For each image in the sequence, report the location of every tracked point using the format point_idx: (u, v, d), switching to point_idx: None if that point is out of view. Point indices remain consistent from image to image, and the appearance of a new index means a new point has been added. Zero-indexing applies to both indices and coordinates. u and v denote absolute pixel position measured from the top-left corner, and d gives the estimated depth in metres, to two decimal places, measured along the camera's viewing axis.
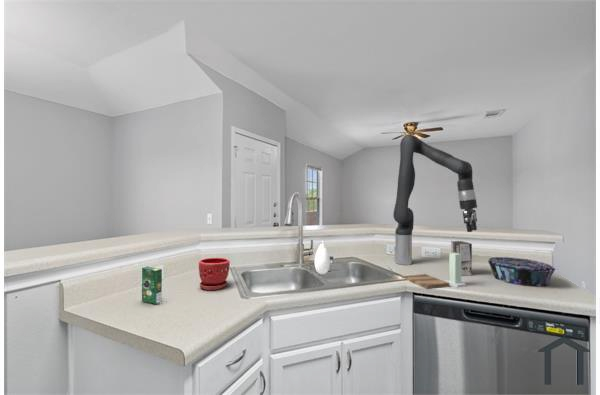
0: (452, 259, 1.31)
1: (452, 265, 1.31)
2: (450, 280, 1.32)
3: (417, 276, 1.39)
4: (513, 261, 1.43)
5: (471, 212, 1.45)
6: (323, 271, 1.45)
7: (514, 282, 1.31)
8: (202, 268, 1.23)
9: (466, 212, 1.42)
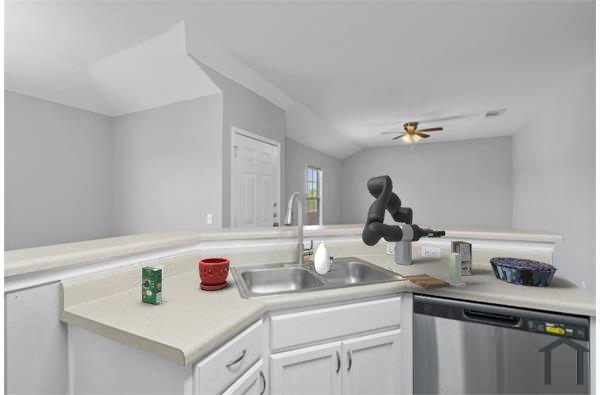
0: (452, 259, 1.31)
1: (452, 265, 1.31)
2: (450, 280, 1.32)
3: (417, 276, 1.39)
4: (514, 261, 1.43)
5: None
6: (323, 271, 1.45)
7: (516, 282, 1.31)
8: (202, 268, 1.23)
9: None
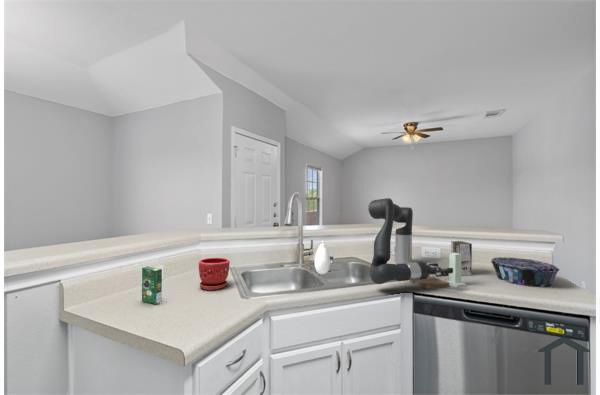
0: (452, 259, 1.31)
1: (452, 265, 1.31)
2: (450, 280, 1.32)
3: None
4: (516, 261, 1.43)
5: None
6: (323, 271, 1.45)
7: (518, 282, 1.31)
8: (202, 268, 1.23)
9: None
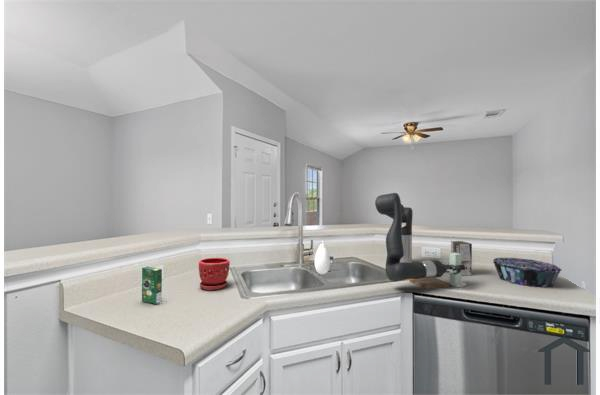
0: (452, 259, 1.31)
1: None
2: (450, 280, 1.32)
3: None
4: (518, 261, 1.42)
5: None
6: (323, 271, 1.45)
7: (520, 283, 1.30)
8: (202, 268, 1.23)
9: None
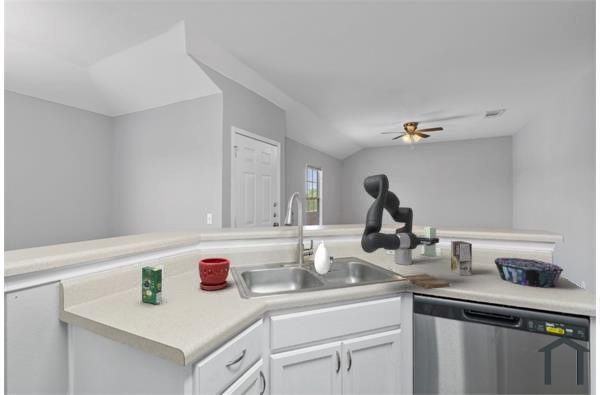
0: (427, 232, 1.33)
1: None
2: (425, 253, 1.35)
3: (417, 276, 1.39)
4: (519, 262, 1.42)
5: None
6: (323, 271, 1.45)
7: (522, 283, 1.30)
8: (202, 268, 1.23)
9: None
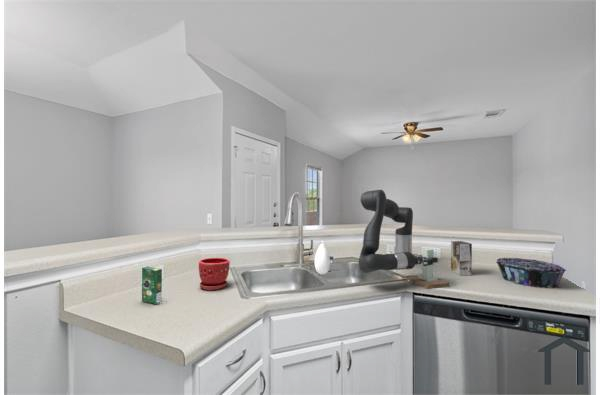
0: (424, 254, 1.34)
1: None
2: (423, 275, 1.35)
3: (417, 276, 1.39)
4: (522, 262, 1.41)
5: None
6: (323, 271, 1.45)
7: (524, 283, 1.30)
8: (202, 268, 1.23)
9: None
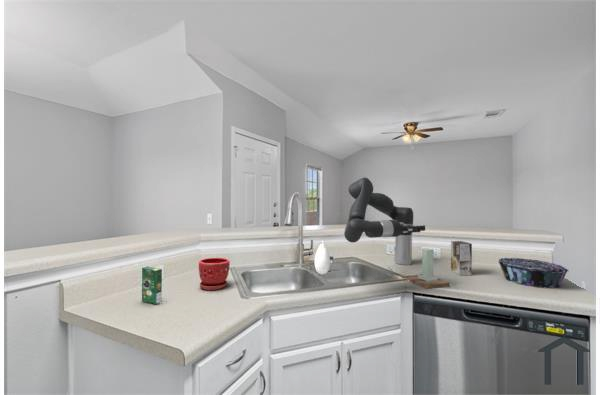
0: (424, 254, 1.34)
1: (425, 261, 1.34)
2: (423, 275, 1.35)
3: (417, 276, 1.39)
4: (523, 262, 1.41)
5: None
6: (323, 271, 1.45)
7: (526, 283, 1.29)
8: (202, 268, 1.23)
9: None
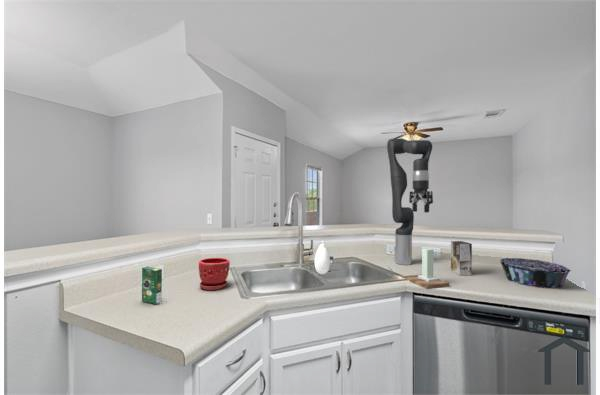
0: (424, 254, 1.34)
1: (425, 261, 1.34)
2: (423, 275, 1.35)
3: (417, 276, 1.39)
4: (525, 262, 1.41)
5: (416, 193, 1.47)
6: (323, 271, 1.45)
7: (528, 284, 1.29)
8: (202, 268, 1.23)
9: None
